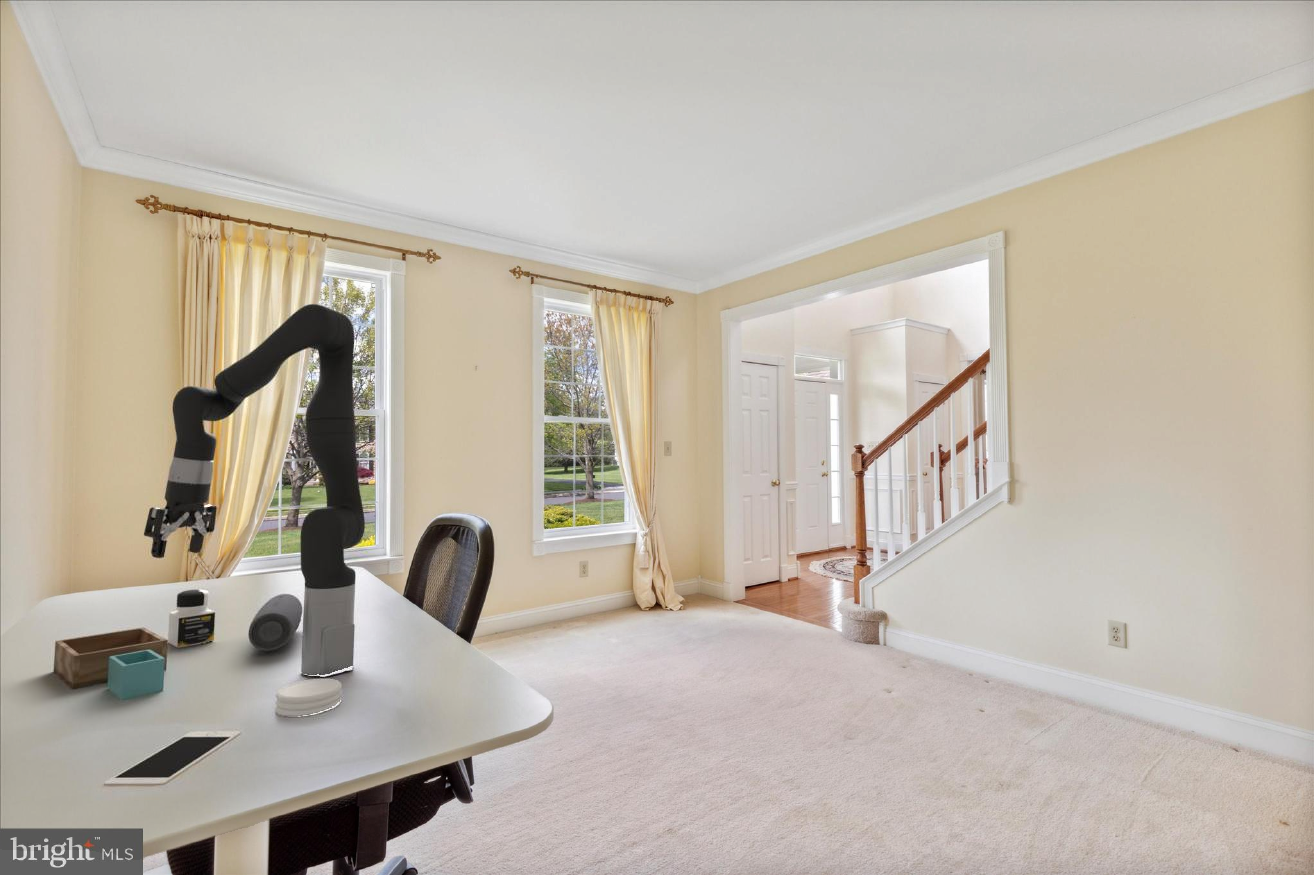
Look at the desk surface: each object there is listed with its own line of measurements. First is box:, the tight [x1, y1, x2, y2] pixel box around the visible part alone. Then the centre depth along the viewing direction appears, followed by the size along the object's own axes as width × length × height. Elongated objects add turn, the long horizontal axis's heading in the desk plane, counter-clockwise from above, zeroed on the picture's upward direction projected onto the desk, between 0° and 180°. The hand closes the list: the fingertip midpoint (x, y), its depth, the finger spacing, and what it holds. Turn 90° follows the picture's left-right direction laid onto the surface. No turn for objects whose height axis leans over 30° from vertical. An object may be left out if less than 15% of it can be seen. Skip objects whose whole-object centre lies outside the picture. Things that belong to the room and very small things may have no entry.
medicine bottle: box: [167, 588, 216, 649], centre depth 145 cm, size 7×7×12 cm
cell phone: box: [103, 730, 242, 786], centre depth 88 cm, size 8×16×1 cm, turn 2°
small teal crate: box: [107, 649, 165, 701], centre depth 114 cm, size 9×6×6 cm, turn 53°
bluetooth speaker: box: [247, 593, 303, 652], centre depth 145 cm, size 23×9×10 cm, turn 25°
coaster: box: [275, 678, 343, 718], centre depth 107 cm, size 10×10×4 cm
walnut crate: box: [53, 626, 169, 690], centre depth 124 cm, size 16×14×6 cm
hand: (176, 554), depth 132 cm, fingers open, 8 cm apart
